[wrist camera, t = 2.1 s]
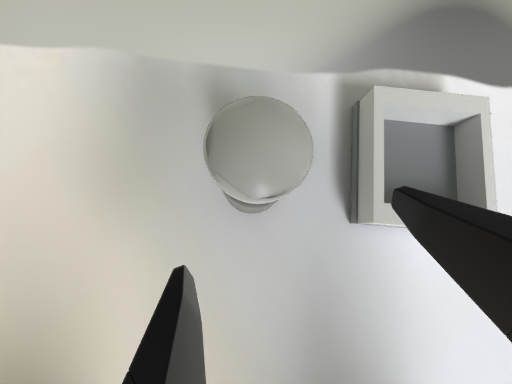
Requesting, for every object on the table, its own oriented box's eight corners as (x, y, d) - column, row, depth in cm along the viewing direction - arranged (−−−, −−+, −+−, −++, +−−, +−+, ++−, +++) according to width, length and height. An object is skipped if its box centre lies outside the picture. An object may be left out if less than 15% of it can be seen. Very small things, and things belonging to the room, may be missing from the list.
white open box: (460, 232, 22) (501, 233, 18) (350, 223, 21) (370, 222, 18) (454, 116, 23) (491, 97, 20) (352, 106, 23) (371, 84, 19)
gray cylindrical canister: (268, 223, 21) (289, 219, 11) (213, 200, 21) (184, 175, 11) (290, 169, 22) (328, 120, 12) (236, 147, 22) (230, 80, 12)
